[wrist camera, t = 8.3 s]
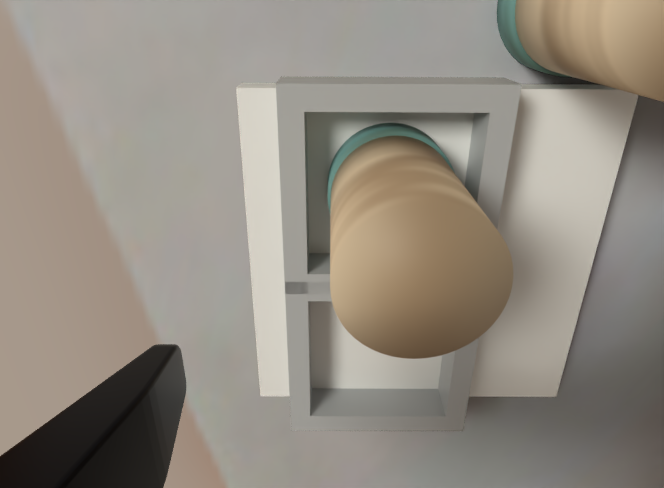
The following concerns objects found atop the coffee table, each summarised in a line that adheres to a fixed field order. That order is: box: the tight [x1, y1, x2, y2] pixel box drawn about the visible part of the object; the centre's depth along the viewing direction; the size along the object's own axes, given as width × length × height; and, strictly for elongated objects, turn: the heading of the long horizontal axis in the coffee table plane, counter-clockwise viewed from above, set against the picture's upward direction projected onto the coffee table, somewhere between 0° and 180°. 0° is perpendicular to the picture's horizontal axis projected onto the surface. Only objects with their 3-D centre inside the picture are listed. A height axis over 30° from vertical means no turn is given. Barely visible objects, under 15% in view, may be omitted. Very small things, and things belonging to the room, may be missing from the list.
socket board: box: [236, 77, 639, 431], centre depth 18 cm, size 13×14×3 cm
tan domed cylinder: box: [497, 0, 664, 102], centre depth 12 cm, size 4×4×7 cm
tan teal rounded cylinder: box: [327, 122, 513, 359], centre depth 14 cm, size 4×4×7 cm
